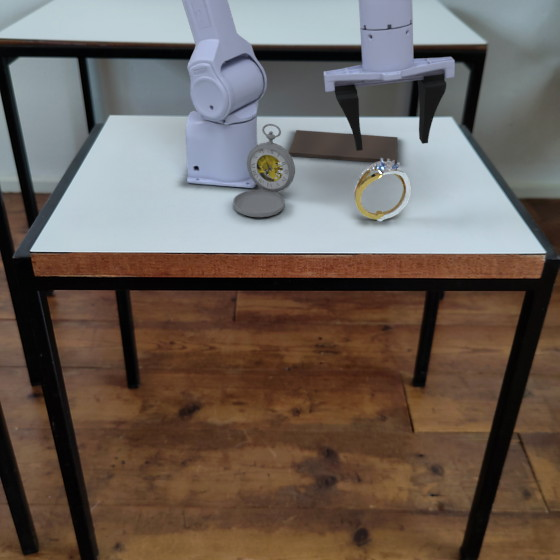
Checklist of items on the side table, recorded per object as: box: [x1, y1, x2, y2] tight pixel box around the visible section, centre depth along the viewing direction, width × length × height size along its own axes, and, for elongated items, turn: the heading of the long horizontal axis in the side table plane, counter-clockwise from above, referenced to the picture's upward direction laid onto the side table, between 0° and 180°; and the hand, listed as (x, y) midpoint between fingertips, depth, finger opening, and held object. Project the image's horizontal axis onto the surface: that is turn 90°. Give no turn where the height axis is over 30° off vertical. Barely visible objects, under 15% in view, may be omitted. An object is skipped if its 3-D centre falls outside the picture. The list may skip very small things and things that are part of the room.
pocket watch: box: [232, 123, 296, 218], centre depth 87 cm, size 8×8×10 cm
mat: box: [288, 129, 398, 165], centre depth 106 cm, size 16×9×1 cm, turn 82°
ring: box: [353, 158, 412, 222], centre depth 85 cm, size 7×3×8 cm, turn 95°
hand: (391, 144), depth 82 cm, fingers open, 7 cm apart
